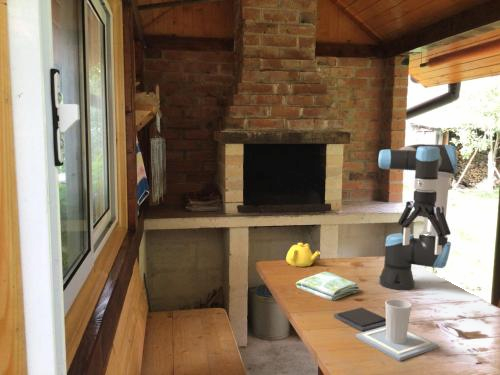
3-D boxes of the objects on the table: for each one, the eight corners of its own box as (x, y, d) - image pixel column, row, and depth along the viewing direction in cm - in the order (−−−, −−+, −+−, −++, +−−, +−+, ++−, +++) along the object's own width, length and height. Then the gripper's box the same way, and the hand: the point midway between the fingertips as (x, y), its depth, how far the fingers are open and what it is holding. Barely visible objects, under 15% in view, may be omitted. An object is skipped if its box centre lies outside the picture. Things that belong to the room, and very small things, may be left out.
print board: (355, 337, 147) (355, 333, 147) (393, 326, 156) (393, 322, 156) (399, 361, 132) (399, 356, 132) (438, 347, 141) (438, 343, 141)
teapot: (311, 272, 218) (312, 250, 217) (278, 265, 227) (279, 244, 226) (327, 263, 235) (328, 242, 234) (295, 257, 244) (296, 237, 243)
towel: (333, 302, 179) (333, 290, 178) (294, 288, 195) (295, 277, 194) (360, 293, 191) (361, 281, 190) (322, 280, 207) (322, 269, 206)
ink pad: (333, 317, 163) (334, 313, 163) (361, 310, 170) (361, 306, 170) (361, 331, 151) (362, 327, 151) (390, 323, 159) (390, 319, 158)
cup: (409, 336, 146) (411, 300, 145) (409, 346, 139) (411, 309, 138) (383, 332, 149) (385, 297, 148) (382, 342, 141) (384, 305, 140)
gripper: (390, 186, 166) (387, 242, 169) (450, 196, 145) (445, 259, 147) (404, 185, 170) (400, 240, 172) (464, 194, 148) (459, 256, 151)
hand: (421, 249), depth 160 cm, fingers open, 13 cm apart
